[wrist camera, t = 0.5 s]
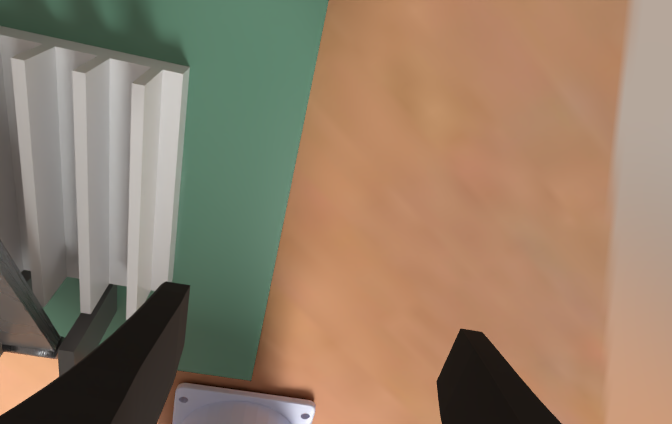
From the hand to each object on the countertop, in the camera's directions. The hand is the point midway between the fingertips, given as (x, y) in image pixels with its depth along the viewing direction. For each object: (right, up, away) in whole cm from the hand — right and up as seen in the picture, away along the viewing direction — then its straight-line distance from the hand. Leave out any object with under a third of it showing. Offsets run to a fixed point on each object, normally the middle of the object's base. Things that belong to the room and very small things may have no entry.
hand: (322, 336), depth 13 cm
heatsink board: (-11, +5, +9) cm, 15 cm away
